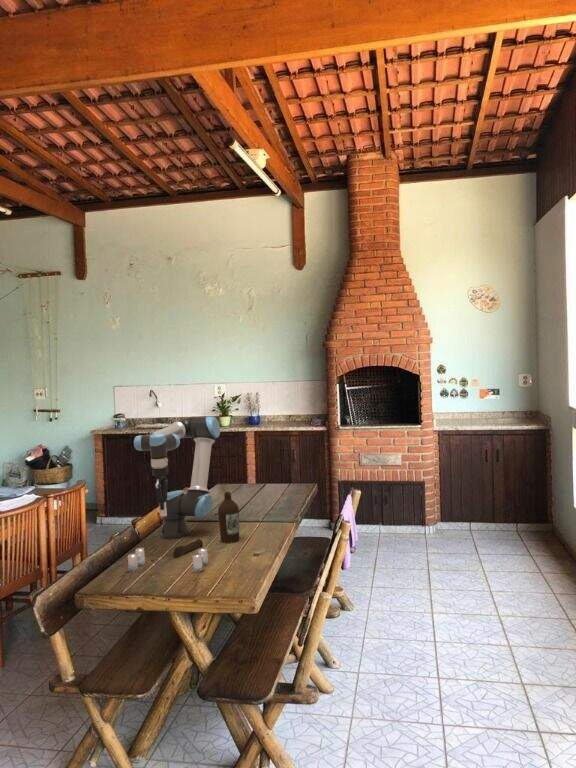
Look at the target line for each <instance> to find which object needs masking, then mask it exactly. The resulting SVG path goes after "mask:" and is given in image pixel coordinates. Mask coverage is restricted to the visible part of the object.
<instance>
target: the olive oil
mask: <svg viewBox="0 0 576 768" xmlns="http://www.w3.org/2000/svg"><path fill="white" fill-rule="evenodd" d="M223 496H224V500H223V501H221V503H220V504H219V506H218V509H217V514H218V523H219V534H220V542H221V541H222V543H224V542H225V543H224V544H231V543H230V542H233V543H236V541H237V542H238V541H239V540H240V508H239V505H238V504H237V503H236V502H235V501H234V500H233V499H232V494H231V490H226V491H224V493H223Z"/></svg>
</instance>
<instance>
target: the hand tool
mask: <svg viewBox="0 0 576 768" xmlns="http://www.w3.org/2000/svg"><path fill="white" fill-rule="evenodd" d="M203 546H204V544H203V540H202V539H199V538H198V539H196V540H195V541H192V542H189V543H188V544H185V545H179V546H177V547H174V551H173V558H174V559H177V558H179V556H180V557H183V556H184V555H185V554H186V553H188V552H192V551H194V550H196V549H199V548H203ZM182 555H183V556H182Z"/></svg>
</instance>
